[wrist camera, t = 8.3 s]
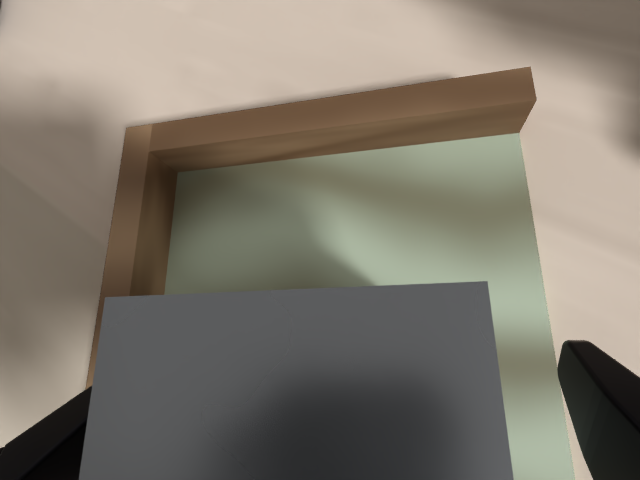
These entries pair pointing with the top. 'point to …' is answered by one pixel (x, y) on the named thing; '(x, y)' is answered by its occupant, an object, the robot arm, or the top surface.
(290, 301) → the bar
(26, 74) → the top surface
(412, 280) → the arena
